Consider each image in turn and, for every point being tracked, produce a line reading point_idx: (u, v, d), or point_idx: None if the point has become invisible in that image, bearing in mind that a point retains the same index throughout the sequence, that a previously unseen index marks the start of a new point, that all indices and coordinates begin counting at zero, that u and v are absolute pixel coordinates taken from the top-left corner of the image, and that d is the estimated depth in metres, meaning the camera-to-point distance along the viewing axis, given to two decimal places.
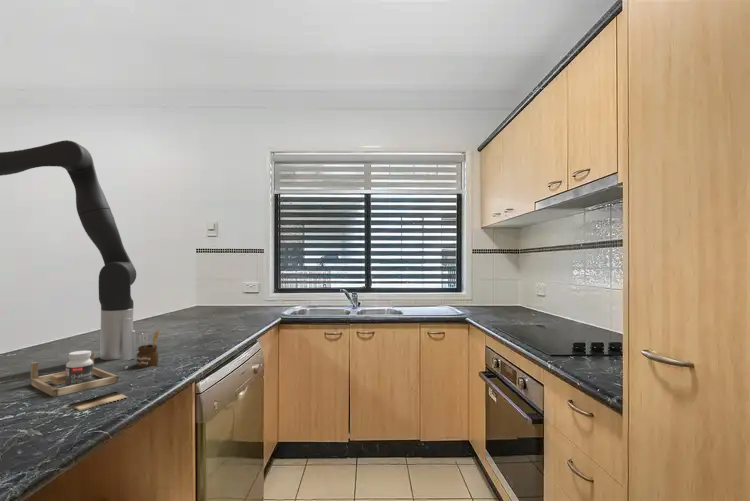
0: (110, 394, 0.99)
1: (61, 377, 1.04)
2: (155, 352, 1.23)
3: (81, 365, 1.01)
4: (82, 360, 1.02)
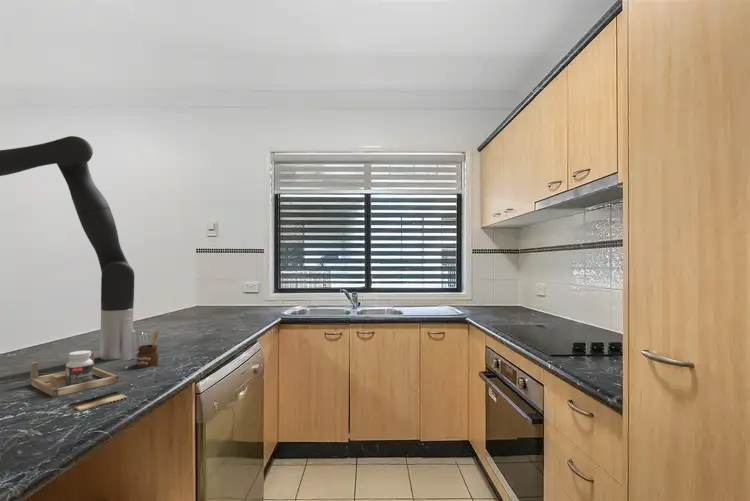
0: (110, 394, 0.99)
1: (61, 377, 1.03)
2: (155, 352, 1.23)
3: (81, 365, 1.01)
4: (82, 360, 1.02)
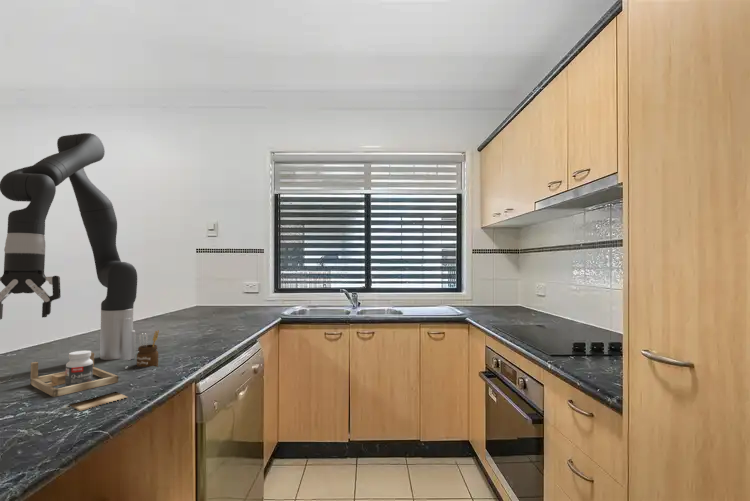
0: (110, 394, 0.99)
1: (62, 377, 1.04)
2: (155, 352, 1.23)
3: (81, 365, 1.01)
4: (82, 360, 1.02)
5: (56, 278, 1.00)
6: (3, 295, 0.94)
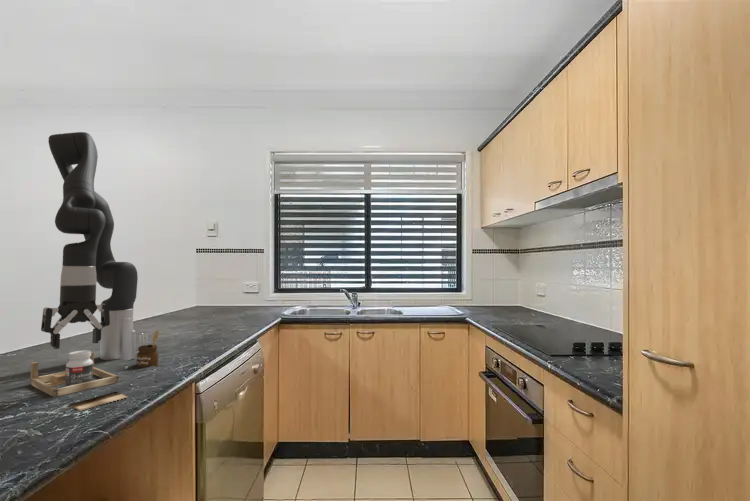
0: (110, 394, 0.99)
1: (61, 377, 1.04)
2: (155, 352, 1.23)
3: (81, 365, 1.01)
4: (82, 360, 1.02)
5: (107, 306, 1.07)
6: (63, 325, 0.99)
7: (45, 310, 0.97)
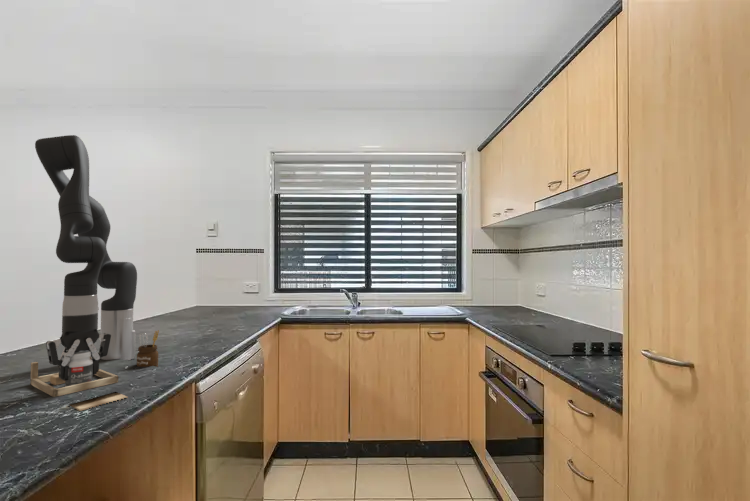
0: (110, 394, 0.99)
1: None
2: (155, 352, 1.23)
3: (81, 365, 1.01)
4: (82, 360, 1.02)
5: (109, 336, 1.08)
6: (70, 356, 1.00)
7: (48, 344, 0.97)
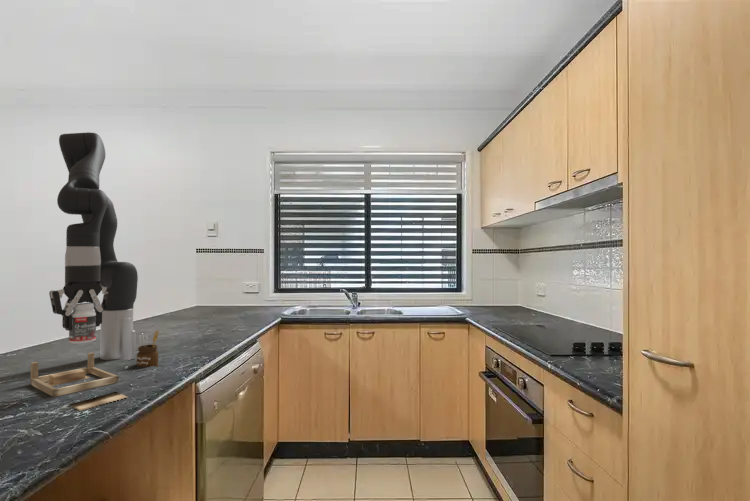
0: (110, 394, 0.99)
1: (58, 377, 1.04)
2: (155, 352, 1.23)
3: (84, 315, 1.01)
4: (86, 311, 1.02)
5: (112, 290, 1.08)
6: (73, 306, 1.00)
7: (51, 293, 0.98)
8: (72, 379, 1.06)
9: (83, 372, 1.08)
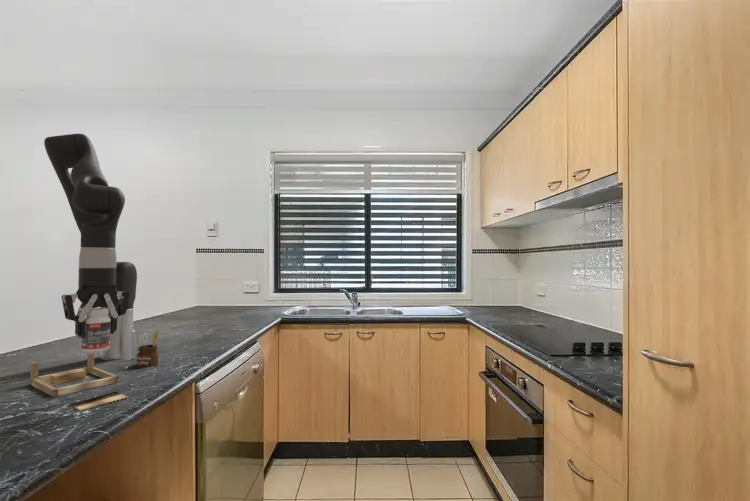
0: (110, 394, 0.99)
1: (59, 376, 1.04)
2: (155, 352, 1.23)
3: (99, 321, 0.94)
4: (100, 317, 0.95)
5: (128, 294, 1.01)
6: (87, 312, 0.93)
7: (64, 298, 0.91)
8: (72, 379, 1.06)
9: (84, 372, 1.08)
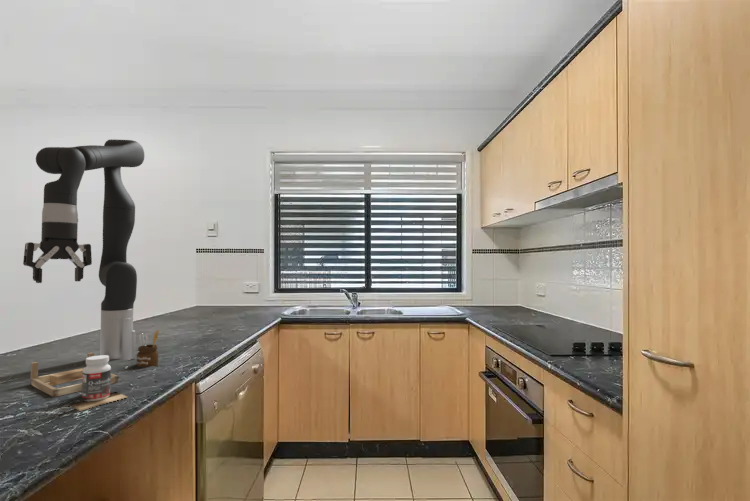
0: (110, 394, 0.99)
1: (61, 376, 1.04)
2: (155, 352, 1.23)
3: (99, 371, 0.94)
4: (100, 366, 0.95)
5: (89, 246, 1.10)
6: (45, 260, 1.02)
7: (27, 244, 1.00)
8: (73, 378, 1.07)
9: None
